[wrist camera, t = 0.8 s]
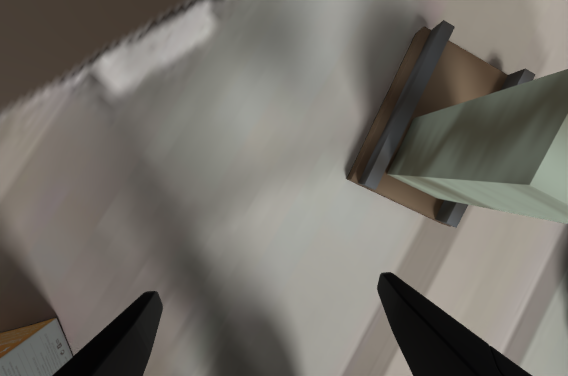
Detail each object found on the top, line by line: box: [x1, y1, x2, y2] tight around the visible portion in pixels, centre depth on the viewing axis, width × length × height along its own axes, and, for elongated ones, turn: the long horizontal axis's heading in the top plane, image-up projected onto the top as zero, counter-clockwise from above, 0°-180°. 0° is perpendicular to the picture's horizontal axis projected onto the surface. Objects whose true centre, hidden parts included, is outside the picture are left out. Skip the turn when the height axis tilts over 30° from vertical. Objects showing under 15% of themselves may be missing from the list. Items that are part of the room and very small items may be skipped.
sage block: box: [387, 69, 568, 224], centre depth 16 cm, size 6×6×12 cm
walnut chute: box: [347, 20, 535, 227], centre depth 22 cm, size 16×12×3 cm
